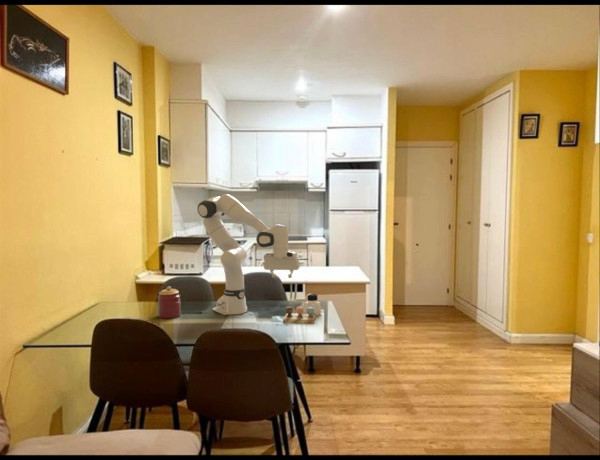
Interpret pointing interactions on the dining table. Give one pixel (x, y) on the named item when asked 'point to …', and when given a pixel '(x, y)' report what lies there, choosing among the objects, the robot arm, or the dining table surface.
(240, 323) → the dining table surface
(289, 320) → the button board
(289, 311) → the brown rounded piece
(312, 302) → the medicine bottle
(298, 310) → the peach rounded knob
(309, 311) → the slate-blue button
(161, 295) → the canister
